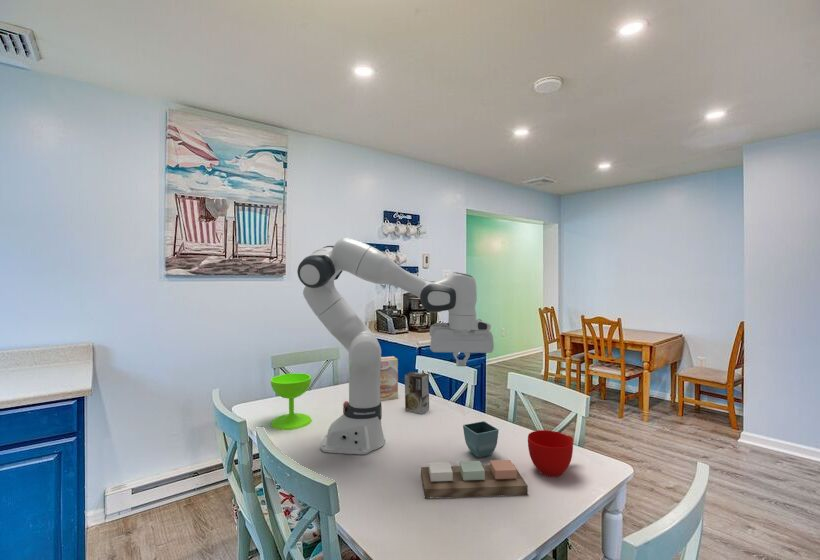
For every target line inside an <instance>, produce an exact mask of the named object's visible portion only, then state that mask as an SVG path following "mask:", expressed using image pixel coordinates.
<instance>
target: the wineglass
mask: <svg viewBox="0 0 820 560" xmlns="http://www.w3.org/2000/svg"><path fill="white" fill-rule="evenodd" d="M311 382H312V375H310V374H308V373H303V372H302V373H300V372H297V373H291V372H290V373H285V374H280V375H278V374H277V375H275V376H273V377H271V378H270V386H271V388H272V390H273V392H274V393H275V394H276V395H277V396H279V397H281V398H283V399H288V410H289V411H288V413H287V414H283V415H280V416H277V417H276V418H273V420H272V421H271V422H270V426H271V428H273V429H275V430H283V431H289V430H290V431H292V430H297V429H301V428H305V427H307V426H309V425H310V424H311V423H312V422H313V421H312V420H313V419H312V417H311V416H310V415H308V414H305V413H297V412H296V413H295V399H296V398H299V397H301V396H302V395H304V394H305V393H306V392H307V390H308V389H309V387H310V385H311Z"/></svg>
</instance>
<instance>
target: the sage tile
mask: <svg viewBox="0 0 820 560" xmlns="http://www.w3.org/2000/svg"><path fill="white" fill-rule="evenodd" d="M458 466H459V470H460V472H461V475H462V478H463V480H465V481H477V480H485V470H484V468H483V466H482V462H481V461H480V460H467V461H464V460H463V461H462V460H461V461H459V465H458Z"/></svg>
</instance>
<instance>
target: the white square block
mask: <svg viewBox="0 0 820 560" xmlns="http://www.w3.org/2000/svg"><path fill="white" fill-rule="evenodd" d="M451 466H452V465H451V463H450V461H436V462H432V461H431V462H428V467H429V474H430V479H431V482H432V481H433V482H448V481H453V472H452V469H451Z"/></svg>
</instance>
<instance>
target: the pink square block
mask: <svg viewBox="0 0 820 560" xmlns="http://www.w3.org/2000/svg"><path fill="white" fill-rule="evenodd" d="M513 464H514V463H513V462H512V460H511V459H493V460H489V465H490V470H491V472H492V473H493V475H494V477H495V479H497V480H506V479H516V478H517V470H518V469H517V467H516V466H515V464H514V465H513ZM515 467H516V468H515ZM516 469H517V470H516Z"/></svg>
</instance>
